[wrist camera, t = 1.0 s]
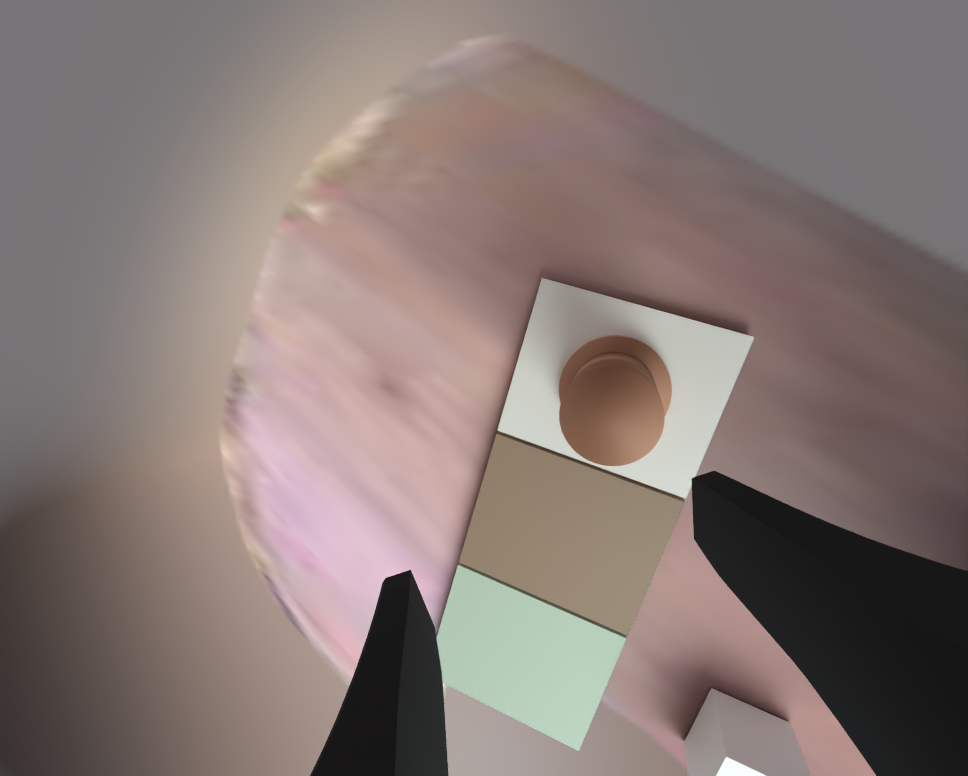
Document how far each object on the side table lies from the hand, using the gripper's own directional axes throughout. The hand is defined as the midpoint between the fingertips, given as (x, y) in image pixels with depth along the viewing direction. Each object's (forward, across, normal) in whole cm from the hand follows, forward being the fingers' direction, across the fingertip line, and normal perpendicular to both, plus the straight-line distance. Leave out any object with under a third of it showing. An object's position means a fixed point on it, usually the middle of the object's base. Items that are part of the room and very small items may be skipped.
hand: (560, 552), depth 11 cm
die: (+4, -8, +21) cm, 23 cm away
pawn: (+11, -6, +3) cm, 13 cm away
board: (+11, -2, +10) cm, 15 cm away
